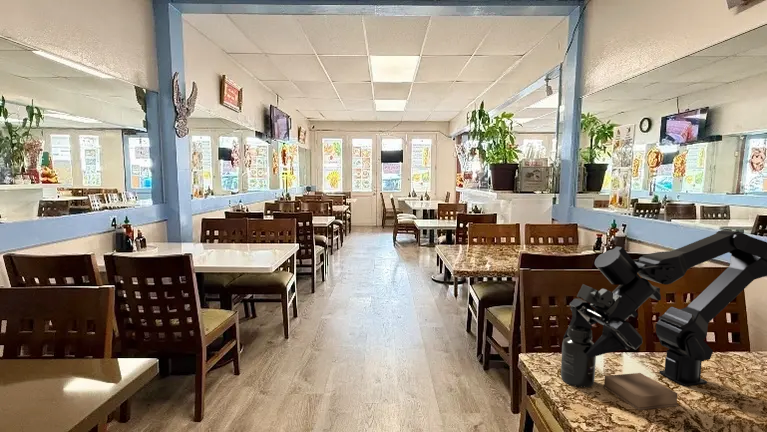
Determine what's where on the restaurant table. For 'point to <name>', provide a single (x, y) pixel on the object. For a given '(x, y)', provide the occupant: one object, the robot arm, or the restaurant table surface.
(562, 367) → the supplement bottle
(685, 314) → the robot arm
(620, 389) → the walnut base
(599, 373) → the restaurant table surface
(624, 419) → the restaurant table surface
